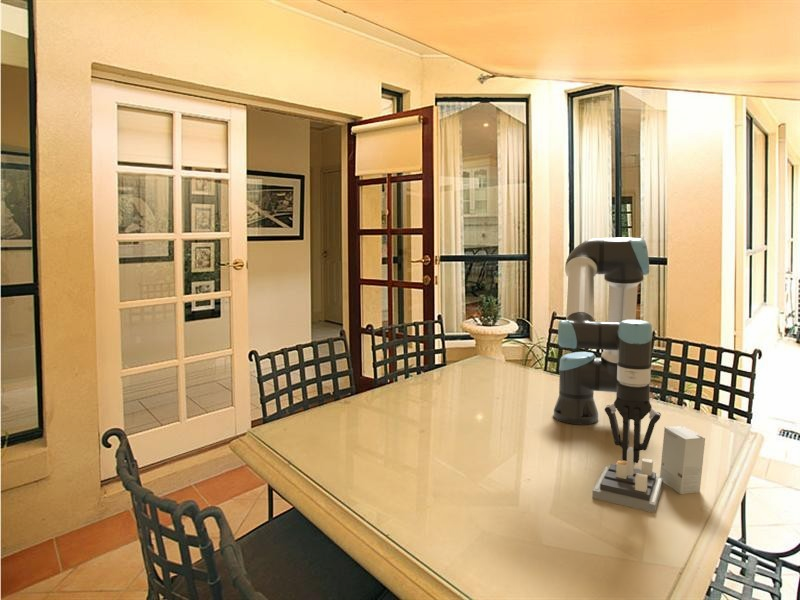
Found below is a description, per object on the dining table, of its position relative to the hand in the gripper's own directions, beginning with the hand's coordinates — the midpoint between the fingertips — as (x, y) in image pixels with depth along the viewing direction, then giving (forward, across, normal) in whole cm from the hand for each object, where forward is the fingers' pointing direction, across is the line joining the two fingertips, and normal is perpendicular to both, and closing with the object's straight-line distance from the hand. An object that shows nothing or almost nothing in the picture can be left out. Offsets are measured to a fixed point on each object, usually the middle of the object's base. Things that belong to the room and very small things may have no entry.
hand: (630, 473), depth 131 cm
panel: (+5, 0, 0) cm, 5 cm away
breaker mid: (+1, -2, 0) cm, 2 cm away
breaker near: (+1, +3, -5) cm, 6 cm away
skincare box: (+5, +11, +9) cm, 15 cm away
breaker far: (+1, +3, +5) cm, 6 cm away
